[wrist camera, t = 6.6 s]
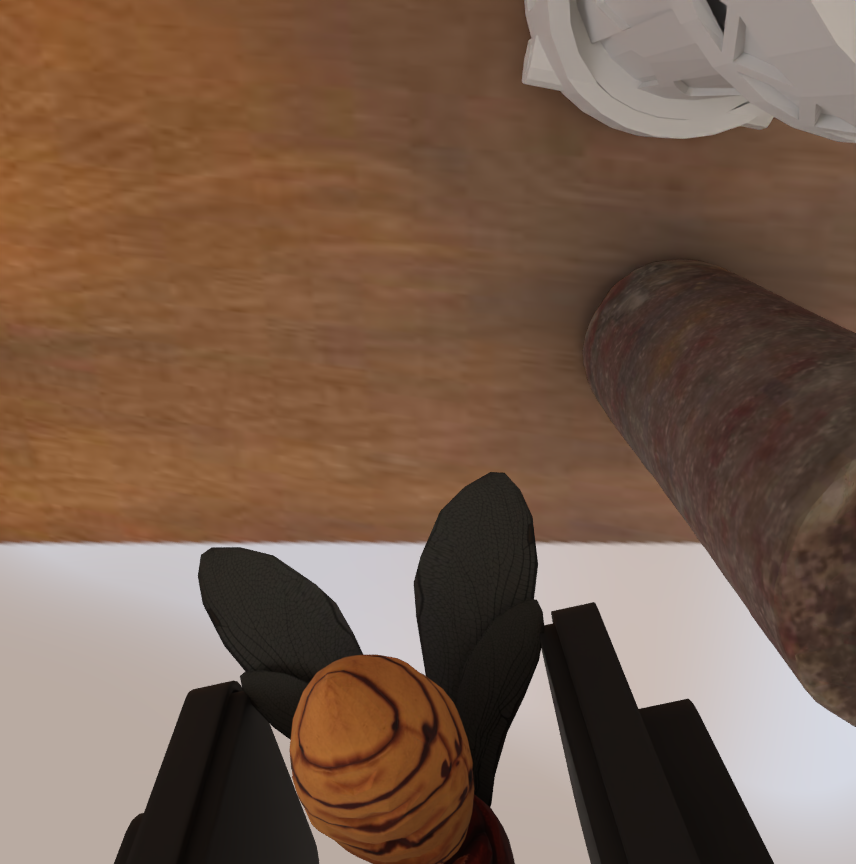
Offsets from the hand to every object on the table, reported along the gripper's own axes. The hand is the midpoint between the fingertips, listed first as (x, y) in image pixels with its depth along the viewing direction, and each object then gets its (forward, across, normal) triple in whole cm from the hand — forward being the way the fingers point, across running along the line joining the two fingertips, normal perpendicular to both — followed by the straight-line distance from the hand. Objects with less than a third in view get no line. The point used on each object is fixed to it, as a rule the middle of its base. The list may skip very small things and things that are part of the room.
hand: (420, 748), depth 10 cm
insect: (-5, 0, 0) cm, 5 cm away
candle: (+25, -10, +4) cm, 28 cm away
